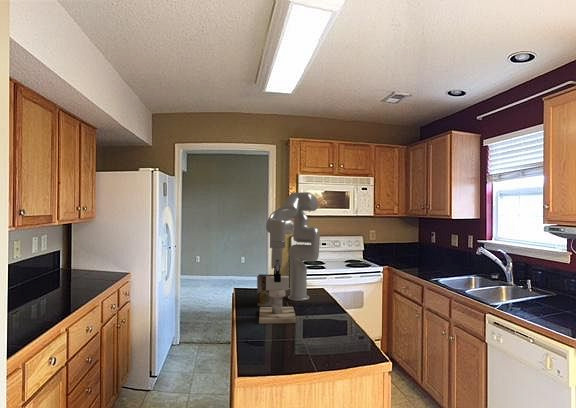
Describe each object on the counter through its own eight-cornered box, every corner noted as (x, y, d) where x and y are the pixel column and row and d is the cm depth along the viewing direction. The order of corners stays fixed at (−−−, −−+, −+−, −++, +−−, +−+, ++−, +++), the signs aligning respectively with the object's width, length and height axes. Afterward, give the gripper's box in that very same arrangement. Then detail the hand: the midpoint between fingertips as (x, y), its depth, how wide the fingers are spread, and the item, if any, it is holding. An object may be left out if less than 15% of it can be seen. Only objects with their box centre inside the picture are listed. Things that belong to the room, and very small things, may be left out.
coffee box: (275, 303, 194) (275, 274, 194) (273, 306, 188) (273, 276, 188) (258, 302, 195) (259, 273, 195) (256, 306, 188) (256, 276, 189)
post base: (260, 311, 179) (260, 291, 179) (293, 310, 180) (293, 291, 180) (259, 323, 159) (259, 301, 159) (296, 323, 160) (296, 301, 160)
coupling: (265, 293, 173) (266, 275, 174) (288, 293, 174) (288, 275, 174) (265, 298, 163) (265, 279, 163) (289, 298, 164) (289, 279, 164)
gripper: (269, 243, 179) (269, 277, 178) (269, 246, 161) (269, 283, 161) (284, 243, 179) (283, 277, 178) (286, 246, 162) (285, 283, 161)
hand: (277, 280), depth 170 cm, fingers open, 9 cm apart
